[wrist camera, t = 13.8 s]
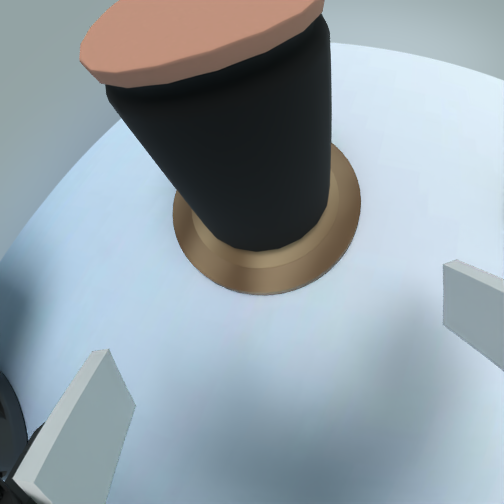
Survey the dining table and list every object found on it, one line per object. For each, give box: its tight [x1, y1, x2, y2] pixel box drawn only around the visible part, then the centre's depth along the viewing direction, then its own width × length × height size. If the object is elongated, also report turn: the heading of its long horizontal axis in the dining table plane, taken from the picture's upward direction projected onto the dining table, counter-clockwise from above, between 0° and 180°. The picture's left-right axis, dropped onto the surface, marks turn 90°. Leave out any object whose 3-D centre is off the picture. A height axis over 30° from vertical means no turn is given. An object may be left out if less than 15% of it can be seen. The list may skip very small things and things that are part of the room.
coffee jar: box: [80, 0, 332, 252], centre depth 18 cm, size 11×11×18 cm
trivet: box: [173, 143, 361, 295], centre depth 27 cm, size 16×16×1 cm
